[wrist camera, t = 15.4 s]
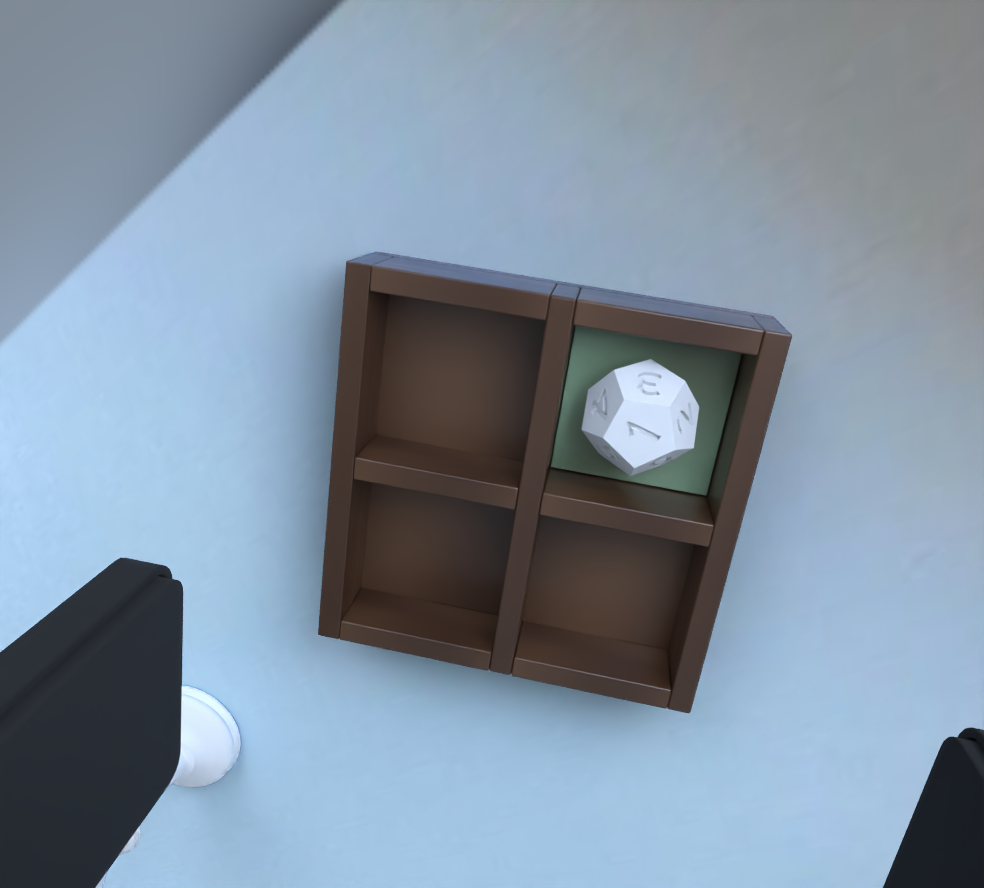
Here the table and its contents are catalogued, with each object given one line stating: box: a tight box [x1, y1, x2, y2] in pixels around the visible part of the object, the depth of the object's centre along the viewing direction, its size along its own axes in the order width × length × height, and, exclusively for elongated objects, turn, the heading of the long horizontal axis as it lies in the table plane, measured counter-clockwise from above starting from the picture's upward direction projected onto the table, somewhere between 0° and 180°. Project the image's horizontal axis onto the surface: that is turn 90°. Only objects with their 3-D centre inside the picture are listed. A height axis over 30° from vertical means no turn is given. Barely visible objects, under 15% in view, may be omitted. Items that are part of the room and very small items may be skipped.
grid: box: [318, 252, 792, 713], centre depth 28 cm, size 13×13×3 cm
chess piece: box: [96, 685, 241, 888], centre depth 31 cm, size 5×5×10 cm
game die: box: [582, 359, 699, 476], centre depth 26 cm, size 4×4×3 cm
